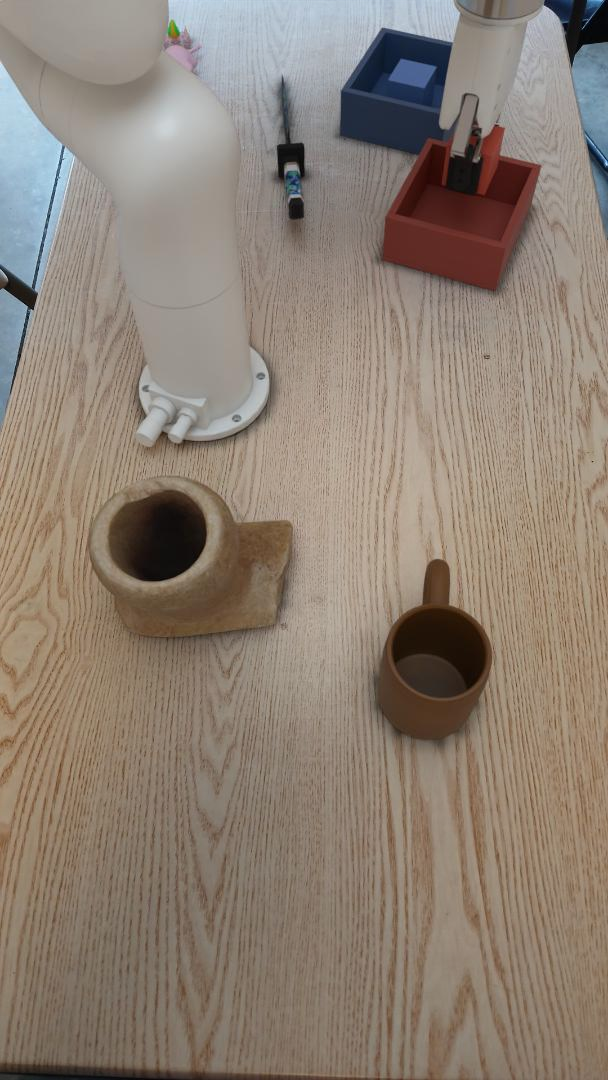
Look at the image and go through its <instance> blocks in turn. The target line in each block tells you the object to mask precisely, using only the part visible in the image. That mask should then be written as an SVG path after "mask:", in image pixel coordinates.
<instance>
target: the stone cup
mask: <svg viewBox="0 0 608 1080" xmlns="http://www.w3.org/2000/svg"><path fill="white" fill-rule="evenodd" d="M293 532H294V528H293V524H292V522H291V521H290V520H286V519H285V520H284V519H282V520H263V521H261V520H260V521H247V522H236V520H235V518H234V516H233V514H232V511H231V509H230V507H229V505H228V504H227V503H226V501H225V500H224V499H223V498H222V497H221V495H220V494H218V493H217V492H216V491H215V490H213V489H212V488H211V487H209V486H208V485H206V484H205V483H202V482H200V481H198V480H195V479H193V478H190V477H186V476H181V475H157V476H152V477H147V478H144V479H141V480H138V481H136V482H133V483H131V484H129V485H127V486H125V487H123V488H122V489H121V490H119V491H118V492H116V493H114V494H112V496H111V497H110V498H108V499H107V500H106V501H105V503H103V505H102V506H101V508H100V509H99V510H98V511H97V513H96V515H95V517H94V519H93V521H92V523H91V525H90V529H89V534H88V542H87V548H88V556H89V561H90V564H91V567H92V570H93V571H94V573H95V576H96V577H97V579H98V580H99V582H100V583H101V585H102V586H103V587H104V588H105V589H106V590H107V591H108V592H109V593H110V594H112V596H113V600H114V608H115V612H116V614H117V616H118V617H119V618H120V621H121V624H122V625H123V627H124V628H125V629H126V630H127V631H129V632H130V633H134V634H136V635H140V636H146V637H154V638H156V637H157V638H181V637H191V636H192V637H193V636H199V635H207V634H217V633H225V632H232V631H240V630H246V629H254V628H262V627H266V626H270V625H275V624H276V623H277V618H278V609H279V607H280V605H281V595H282V590H283V587H284V578H285V574H286V572H287V569H288V567H289V564H290V562H291V551H292V542H293V541H292V540H293Z"/></svg>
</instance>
